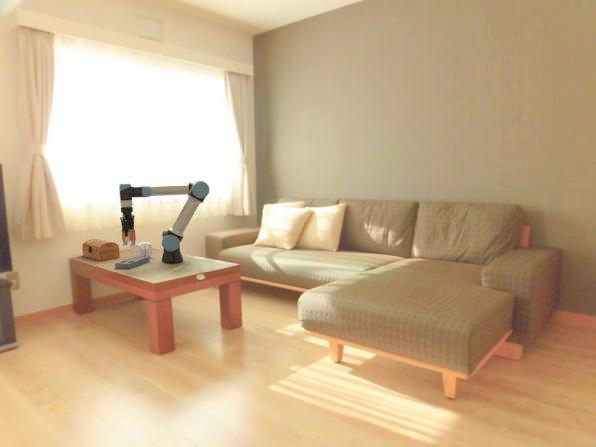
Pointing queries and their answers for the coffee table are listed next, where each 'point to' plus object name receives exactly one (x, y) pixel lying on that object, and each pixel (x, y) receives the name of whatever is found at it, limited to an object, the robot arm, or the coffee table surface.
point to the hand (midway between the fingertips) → (129, 240)
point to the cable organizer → (141, 249)
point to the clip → (131, 235)
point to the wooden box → (100, 249)
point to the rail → (132, 262)
